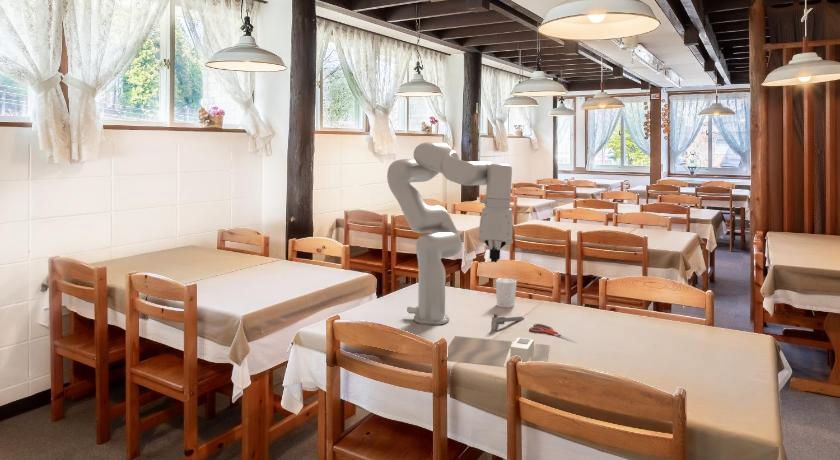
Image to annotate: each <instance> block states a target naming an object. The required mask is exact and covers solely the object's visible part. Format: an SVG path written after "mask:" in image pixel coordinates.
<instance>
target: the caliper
mask: <svg viewBox="0 0 840 460" xmlns="http://www.w3.org/2000/svg"><path fill="white" fill-rule="evenodd" d="M524 319H525V318H524V317H523V316H522V315H516V316H515V315H514V316H499V314H498V313H493V317H492V318H491V323H490V324H491V326H490V327H491V329H490V330H491V332H498V330H499V327H500V325H501V326H502V325H505V323H509V322H520V321H522V320H524Z"/></svg>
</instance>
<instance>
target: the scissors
mask: <svg viewBox="0 0 840 460" xmlns="http://www.w3.org/2000/svg"><path fill="white" fill-rule="evenodd" d="M528 331H529V332H530V333H534V334H545V335H549V336H554V337H556V338H560V339H563V340H564V341H565V340H566V341H568V342H571V343H575V344H577V341H574V340H572V339H571V338H568V337H567V336H564V335H561V334H559V332H557V331H555V330H554V327H551V326H548V325H546V324H542V323H534V324H533V326H532V327H530V328H529V329H528Z"/></svg>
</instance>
